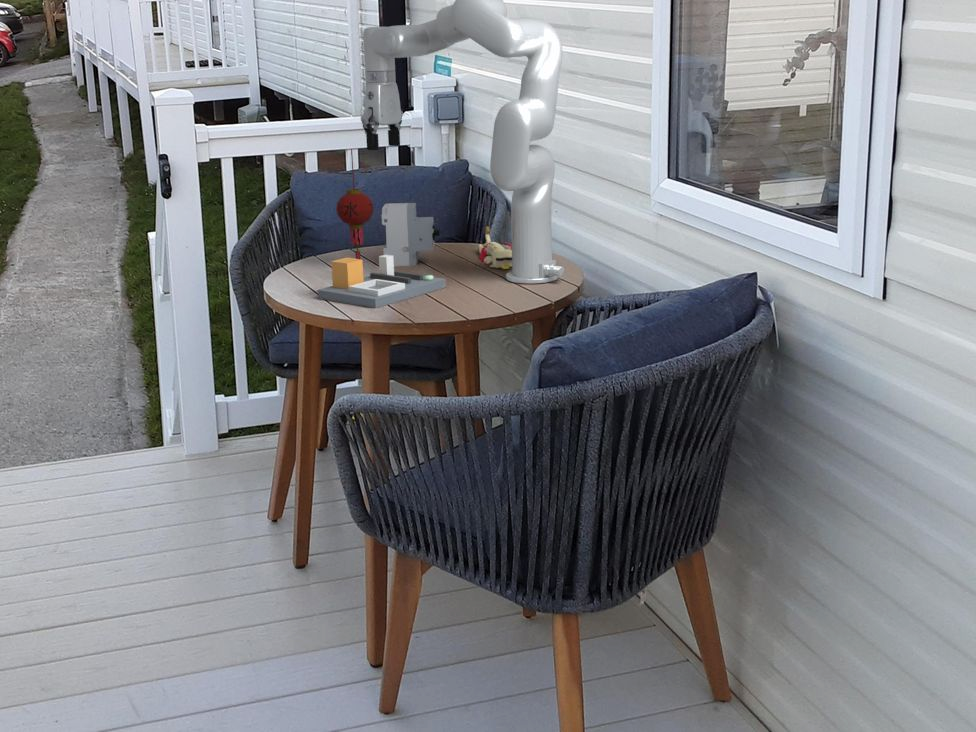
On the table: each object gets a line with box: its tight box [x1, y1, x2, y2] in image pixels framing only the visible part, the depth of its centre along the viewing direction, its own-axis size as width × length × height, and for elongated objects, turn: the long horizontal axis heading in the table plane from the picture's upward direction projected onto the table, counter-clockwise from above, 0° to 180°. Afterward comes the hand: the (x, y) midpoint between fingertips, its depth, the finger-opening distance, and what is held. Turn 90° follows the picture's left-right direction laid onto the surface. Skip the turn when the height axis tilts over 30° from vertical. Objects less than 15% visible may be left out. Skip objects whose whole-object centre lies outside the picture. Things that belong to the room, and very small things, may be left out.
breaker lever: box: [378, 254, 395, 276], centre depth 276 cm, size 2×2×5 cm
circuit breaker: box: [381, 202, 441, 267], centre depth 301 cm, size 8×14×15 cm, turn 89°
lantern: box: [336, 148, 375, 259], centre depth 294 cm, size 10×10×30 cm
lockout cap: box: [330, 257, 364, 289], centre depth 268 cm, size 5×5×6 cm
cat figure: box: [476, 226, 512, 270], centre depth 300 cm, size 10×9×25 cm
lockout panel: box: [316, 270, 447, 309], centre depth 270 cm, size 18×24×3 cm
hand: (383, 147), depth 296 cm, fingers open, 9 cm apart
